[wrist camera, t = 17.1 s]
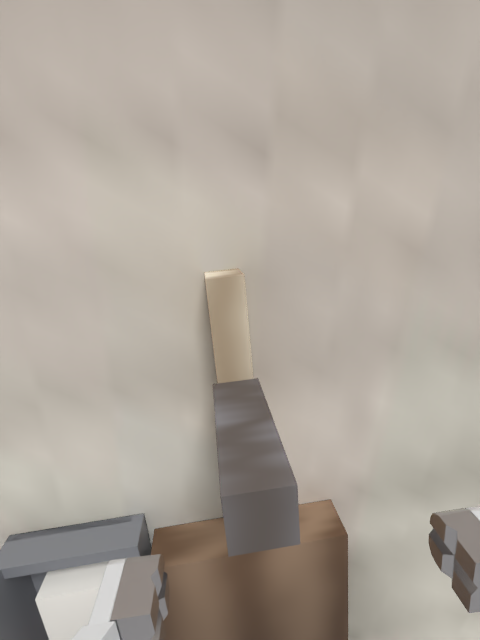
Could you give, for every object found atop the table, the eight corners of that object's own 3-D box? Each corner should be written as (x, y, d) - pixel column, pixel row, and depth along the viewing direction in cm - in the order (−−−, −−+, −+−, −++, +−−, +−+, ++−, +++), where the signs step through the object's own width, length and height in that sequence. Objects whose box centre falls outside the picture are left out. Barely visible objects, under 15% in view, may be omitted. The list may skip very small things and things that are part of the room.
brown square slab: (330, 499, 25) (347, 534, 22) (333, 614, 28) (348, 658, 25) (154, 529, 24) (148, 570, 21) (178, 644, 27) (175, 694, 24)
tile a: (34, 599, 21) (52, 561, 23) (50, 644, 22) (65, 603, 24) (101, 588, 21) (111, 551, 23) (113, 632, 22) (122, 593, 25)
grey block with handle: (242, 267, 20) (288, 314, 9) (259, 465, 24) (306, 657, 13) (200, 272, 20) (197, 325, 9) (224, 471, 24) (243, 670, 13)
